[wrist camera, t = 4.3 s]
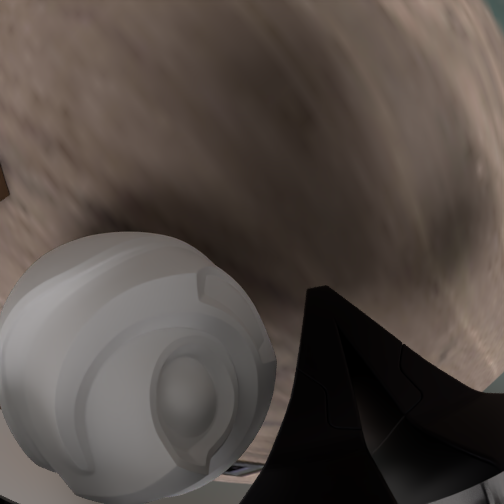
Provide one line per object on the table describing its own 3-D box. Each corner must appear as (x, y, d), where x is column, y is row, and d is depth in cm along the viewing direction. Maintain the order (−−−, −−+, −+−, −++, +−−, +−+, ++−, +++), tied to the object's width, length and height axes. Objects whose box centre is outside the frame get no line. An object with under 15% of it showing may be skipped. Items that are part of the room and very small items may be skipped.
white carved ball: (292, 314, 11) (336, 507, 5) (154, 369, 13) (138, 514, 6) (167, 138, 7) (-43, 409, 1) (32, 259, 9) (-59, 416, 2)
